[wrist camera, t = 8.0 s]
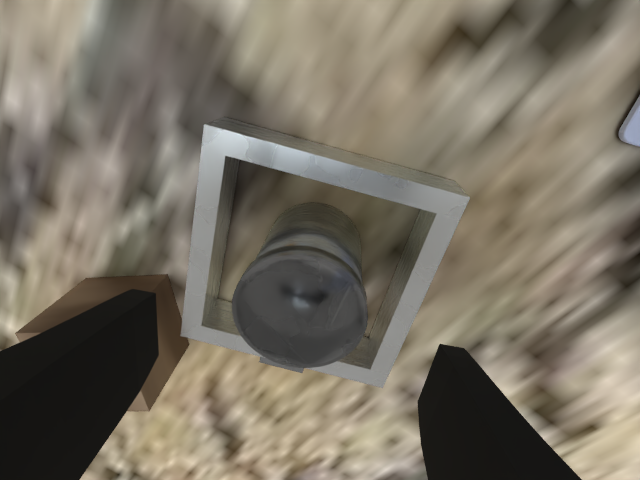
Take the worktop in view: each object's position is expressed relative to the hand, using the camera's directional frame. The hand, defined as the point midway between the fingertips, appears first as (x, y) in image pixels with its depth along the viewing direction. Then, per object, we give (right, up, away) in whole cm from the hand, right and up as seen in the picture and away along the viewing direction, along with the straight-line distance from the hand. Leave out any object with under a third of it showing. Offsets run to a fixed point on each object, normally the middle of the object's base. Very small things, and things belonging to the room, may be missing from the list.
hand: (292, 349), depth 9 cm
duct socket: (0, +2, +10) cm, 10 cm away
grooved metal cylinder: (0, +2, +10) cm, 10 cm away
